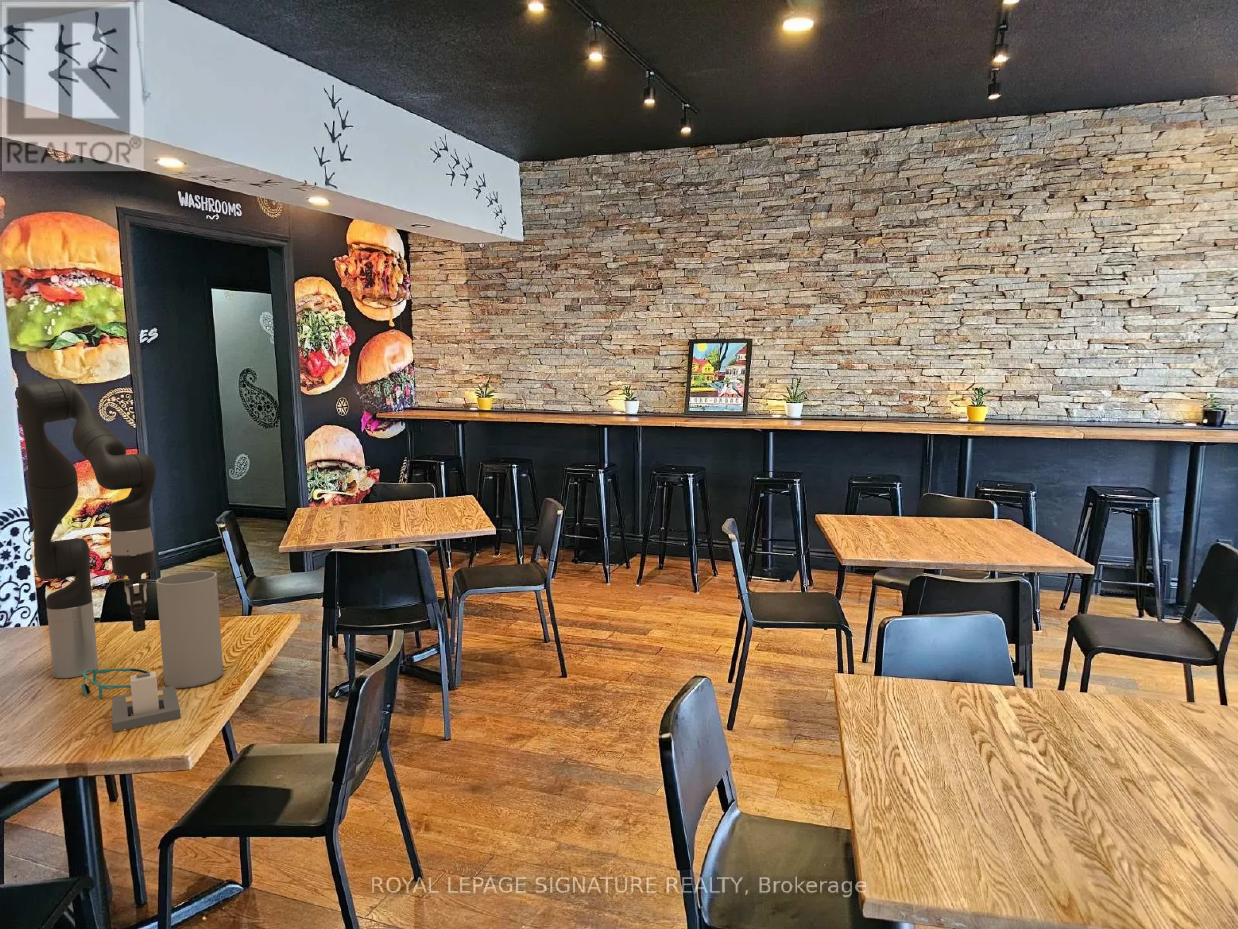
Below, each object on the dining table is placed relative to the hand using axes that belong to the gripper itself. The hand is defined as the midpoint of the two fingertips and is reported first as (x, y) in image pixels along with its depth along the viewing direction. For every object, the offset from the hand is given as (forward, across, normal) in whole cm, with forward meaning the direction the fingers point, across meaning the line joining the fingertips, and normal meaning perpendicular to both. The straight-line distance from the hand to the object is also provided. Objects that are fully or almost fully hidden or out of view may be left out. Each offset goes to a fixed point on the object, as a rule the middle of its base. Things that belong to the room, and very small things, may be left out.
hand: (138, 625), depth 162 cm
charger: (+20, 0, 0) cm, 20 cm away
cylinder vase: (+20, -18, +11) cm, 29 cm away
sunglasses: (+21, -24, -4) cm, 32 cm away
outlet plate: (+20, -3, 0) cm, 20 cm away
